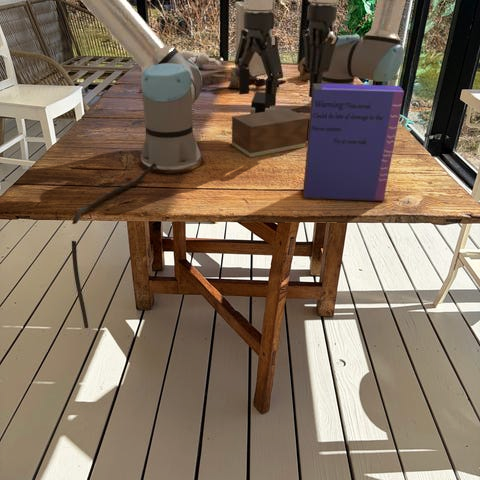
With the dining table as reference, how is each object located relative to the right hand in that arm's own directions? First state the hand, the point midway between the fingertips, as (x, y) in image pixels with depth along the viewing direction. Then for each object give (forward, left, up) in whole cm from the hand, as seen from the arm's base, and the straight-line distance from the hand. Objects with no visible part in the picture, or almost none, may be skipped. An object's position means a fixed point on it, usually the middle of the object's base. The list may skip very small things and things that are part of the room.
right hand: (314, 96), depth 135 cm
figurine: (-42, -45, -12) cm, 63 cm away
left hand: (+16, -10, +1) cm, 19 cm away
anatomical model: (-72, -33, -12) cm, 80 cm away
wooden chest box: (+13, -7, -12) cm, 19 cm away
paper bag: (-69, -58, -12) cm, 91 cm away
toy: (-62, -89, -12) cm, 109 cm away
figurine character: (-8, -21, -12) cm, 25 cm away
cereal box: (+33, +22, -12) cm, 41 cm away
